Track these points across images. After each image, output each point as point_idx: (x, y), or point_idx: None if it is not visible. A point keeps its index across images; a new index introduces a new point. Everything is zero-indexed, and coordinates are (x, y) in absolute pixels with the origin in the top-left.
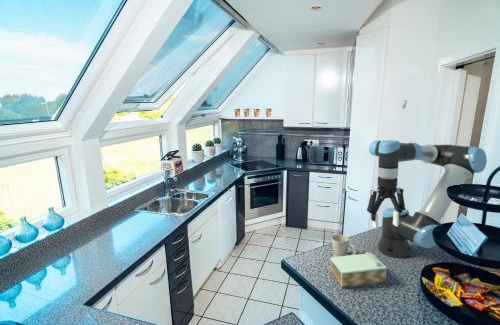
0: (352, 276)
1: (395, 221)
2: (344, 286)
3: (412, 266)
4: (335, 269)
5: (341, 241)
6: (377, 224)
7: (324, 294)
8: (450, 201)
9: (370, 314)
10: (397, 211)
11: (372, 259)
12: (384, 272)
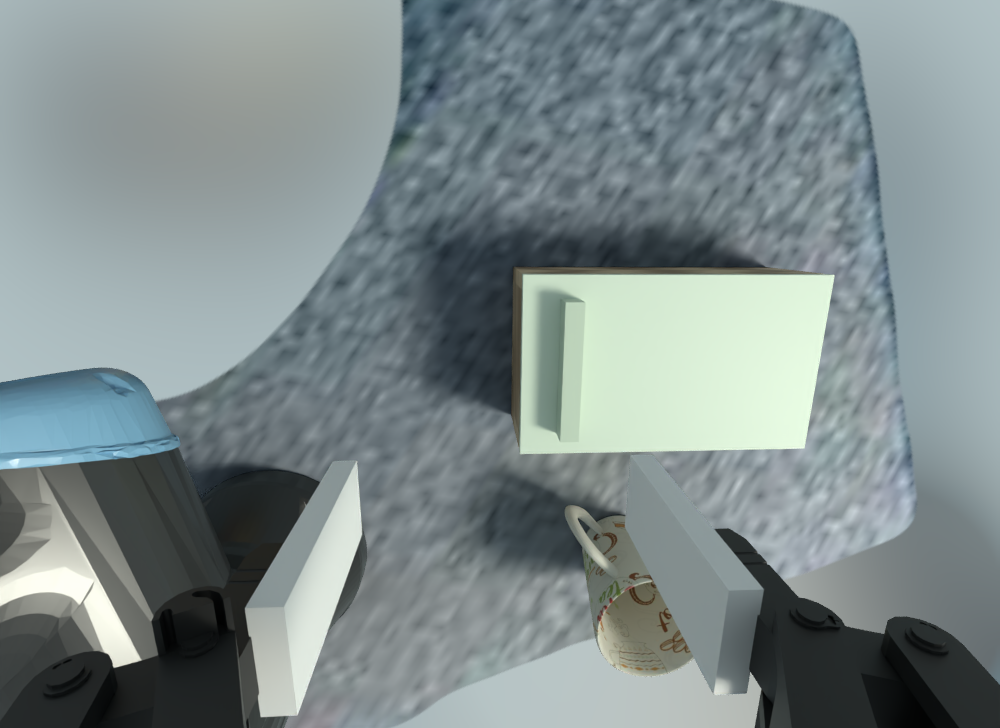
0: (743, 272)
1: (343, 523)
2: (758, 267)
3: (264, 384)
4: None
5: (609, 625)
6: (652, 482)
7: (876, 237)
8: None
9: (746, 41)
10: (252, 654)
11: (581, 355)
12: (532, 272)
